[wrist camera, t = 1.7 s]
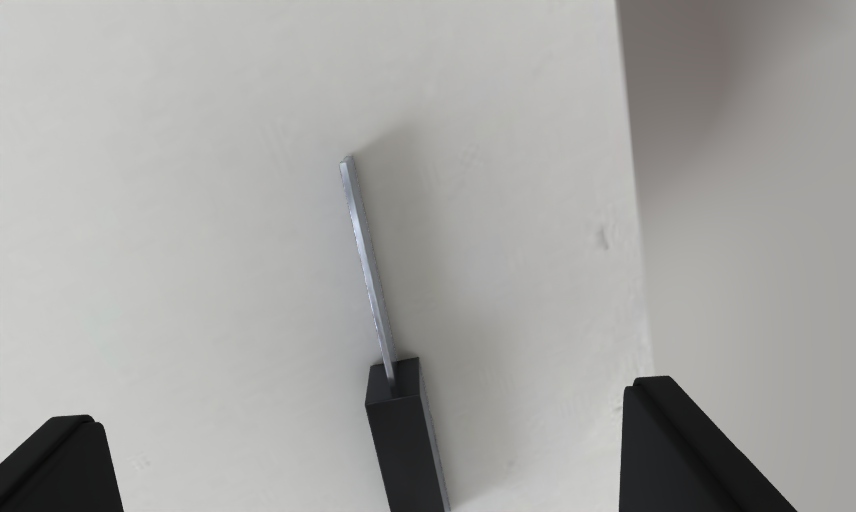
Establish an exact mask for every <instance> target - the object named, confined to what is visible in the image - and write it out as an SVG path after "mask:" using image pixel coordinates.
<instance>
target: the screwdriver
mask: <svg viewBox="0 0 856 512" xmlns="http://www.w3.org/2000/svg"><path fill="white" fill-rule="evenodd" d="M339 167H340V171H341V176H342V180H343V185H344V189H345V193H346V198H347V202H348V207H349V211H350V215H351V220H352V224H353V229H354V233H355V238H356V242H357V246H358V251H359V255H360V260H361V264H362V268H363V273H364V277H365V282H366V286H367V290H368V295H369V299H370V304H371V308H372V312H373V317H374V321H375V326H376V330H377V334H378V339H379V343H380V348H381V352H382V356H383V361H384V364H378V365H373V366H370V373H369V379H368V386H367V393H366V400H365V407H366V412H367V416H368V420H369V424H370V428H371V432H372V436H373V440H374V445H375V449H376V453H377V457H378V461H379V465H380V469H381V473H382V478H383V482H384V486H385V490H386V494H387V498H388V502H389V506H390V511H391V512H451V509H450V504H449V499H448V494H447V490H446V485H445V480H444V475H443V470H442V466H441V461H440V456H439V451H438V446H437V442H436V437H435V432H434V427H433V422H432V417H431V413H430V408H429V403H428V398H427V393H426V389H425V384H424V379H423V374H422V369H421V365H420V360H419V357H417V358H411V359H406V360H400V361H397V356H396V352H395V347H394V342H393V338H392V333H391V329H390V324H389V320H388V315H387V311H386V306H385V301H384V297H383V292H382V288H381V283H380V279H379V274H378V270H377V265H376V261H375V256H374V251H373V247H372V242H371V238H370V233H369V229H368V224H367V220H366V215H365V210H364V206H363V201H362V197H361V192H360V188H359V183H358V179H357V174H356V169H355V165H354V160H353V156H352V155H351V156H346V157H345V158H344V159H343V160H342V161H341V162H340V163H339Z"/></svg>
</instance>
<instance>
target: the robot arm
mask: <svg viewBox="0 0 856 512" xmlns="http://www.w3.org/2000/svg"><path fill="white" fill-rule="evenodd" d="M0 512H124V511H123V506H122V502H121V498H120V493H119V489H118V485H117V480H116V476H115V472H114V468H113V463H112V459H111V455H110V450H109V446H108V442H107V437H106V433H105V429H104V427H103V425H102V424H101V423H99V422H95V421H94V419H93V418H92V417H91V416H89V415H73V416H58V417H52V418H50V419H49V420H48V421H46V422H45V423H44V424H43V425H42V426H41V427H40V428H39V429H38V430H37V431H36V432H34V433H33V434H32V435H31V436H30V437H29V438H28V439H27V440H26V441H25V442H24V443H22V444H21V445H20V446H19V447H18V448H17V449H16V450H15V451H14V452H13V453H12V454H10V455H9V456H8V457H7V458H6V459H5V460H4V461H3V462H2V463H1V464H0ZM619 512H797V511H796V510H795V508H794V507H793V506H792V505H791V504H790V503H789V502H788V501H787V500H786V499H785V498H784V497H783V496H782V495H781V493H780V492H779V491H778V490H777V489H776V488H775V487H774V486H773V485H772V484H771V483H770V482H769V481H768V480H767V478H766V477H765V476H764V475H763V474H762V473H761V472H760V471H759V470H758V469H757V468H756V467H755V466H754V465H753V464H752V463H751V461H750V460H749V459H748V458H747V457H746V456H745V455H744V454H743V453H742V452H741V451H740V450H739V449H738V448H737V447H736V446H735V445H734V444H733V443H732V442H731V441H730V440H729V439H728V438H727V437H726V436H725V434H724V433H723V432H722V431H721V430H720V429H719V428H718V427H717V426H716V425H715V424H714V423H713V422H712V421H711V420H710V418H709V417H708V416H707V415H706V414H705V413H704V412H703V411H702V410H701V409H700V408H699V407H698V406H697V405H696V403H695V402H694V401H693V400H692V399H691V398H690V397H689V396H688V395H687V394H686V393H685V392H684V391H683V389H682V388H681V387H680V386H679V385H678V384H677V383H676V382H675V381H674V380H673V379H672V378H671V377H670V376H654V377H639V378H636V379H635V380H634V383H633V386H627V387H626V388H625V390H624V397H623V422H622V446H621V470H620V495H619Z"/></svg>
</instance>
